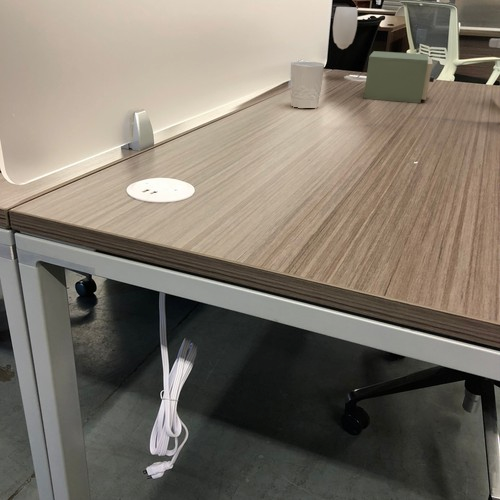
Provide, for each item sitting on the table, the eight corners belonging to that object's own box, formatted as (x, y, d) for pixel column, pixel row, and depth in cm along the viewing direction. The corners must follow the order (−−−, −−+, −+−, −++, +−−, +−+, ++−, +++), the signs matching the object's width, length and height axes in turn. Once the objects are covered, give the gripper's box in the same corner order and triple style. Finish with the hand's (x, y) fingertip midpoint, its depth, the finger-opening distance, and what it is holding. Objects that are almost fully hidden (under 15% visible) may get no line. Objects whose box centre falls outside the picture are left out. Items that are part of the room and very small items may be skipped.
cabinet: (420, 94, 142) (428, 54, 137) (420, 103, 131) (428, 60, 126) (368, 90, 146) (373, 51, 141) (363, 98, 135) (369, 56, 130)
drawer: (430, 92, 140) (436, 58, 136) (430, 100, 131) (437, 64, 127) (376, 88, 144) (381, 55, 140) (373, 95, 134) (377, 60, 130)
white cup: (283, 103, 126) (285, 61, 121) (311, 102, 128) (314, 60, 124) (296, 110, 119) (299, 66, 115) (326, 109, 122) (330, 65, 117)
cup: (326, 80, 159) (333, 7, 149) (329, 76, 165) (335, 6, 156) (349, 81, 158) (358, 8, 148) (351, 78, 164) (359, 7, 154)
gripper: (549, 29, 129) (490, 26, 133) (561, 35, 112) (494, 31, 116) (541, 55, 132) (485, 52, 136) (553, 65, 115) (487, 60, 119)
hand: (489, 42), depth 126 cm, fingers closed
